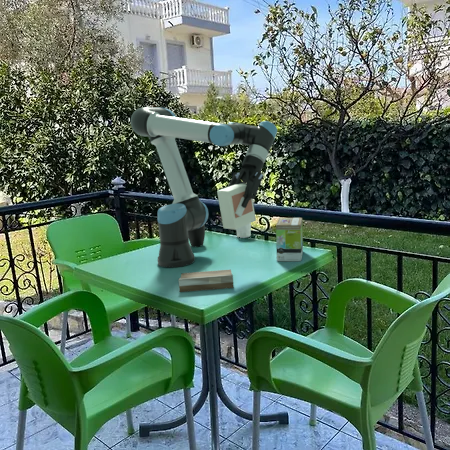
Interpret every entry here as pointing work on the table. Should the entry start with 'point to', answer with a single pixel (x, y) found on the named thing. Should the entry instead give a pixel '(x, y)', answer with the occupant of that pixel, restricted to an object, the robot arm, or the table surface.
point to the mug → (197, 236)
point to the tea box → (289, 239)
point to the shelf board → (206, 280)
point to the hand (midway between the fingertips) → (231, 214)
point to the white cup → (244, 231)
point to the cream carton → (234, 207)
